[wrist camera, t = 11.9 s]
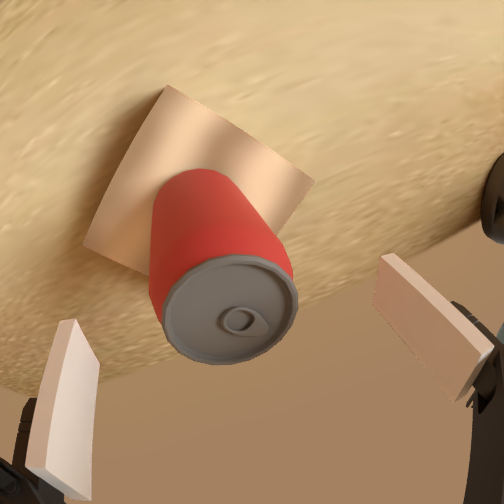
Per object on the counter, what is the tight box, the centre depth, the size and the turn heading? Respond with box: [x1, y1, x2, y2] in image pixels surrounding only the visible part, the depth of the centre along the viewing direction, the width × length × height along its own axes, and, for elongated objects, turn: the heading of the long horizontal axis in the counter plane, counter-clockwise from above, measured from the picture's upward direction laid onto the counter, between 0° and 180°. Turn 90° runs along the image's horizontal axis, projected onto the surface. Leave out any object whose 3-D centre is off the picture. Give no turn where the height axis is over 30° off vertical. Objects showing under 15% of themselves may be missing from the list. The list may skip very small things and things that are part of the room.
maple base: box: [82, 85, 315, 276], centre depth 24 cm, size 13×13×4 cm
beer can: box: [149, 168, 298, 365], centre depth 17 cm, size 7×7×12 cm
